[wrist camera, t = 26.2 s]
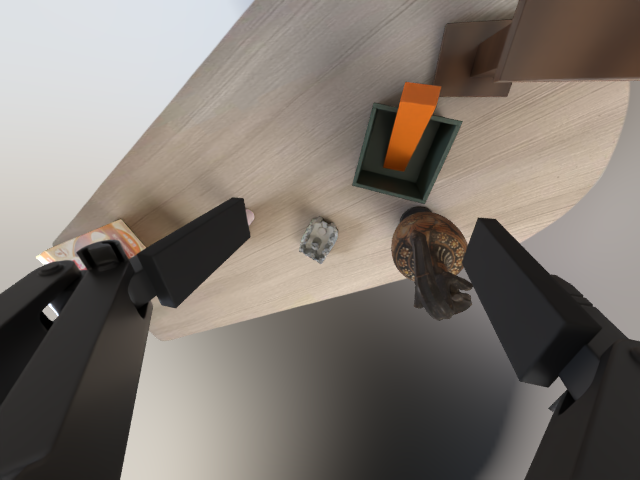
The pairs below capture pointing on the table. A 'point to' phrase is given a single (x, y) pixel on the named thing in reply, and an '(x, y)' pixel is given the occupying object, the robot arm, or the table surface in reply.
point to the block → (410, 123)
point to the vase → (432, 261)
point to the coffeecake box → (107, 232)
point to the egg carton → (318, 239)
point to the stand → (541, 47)
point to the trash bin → (421, 165)
